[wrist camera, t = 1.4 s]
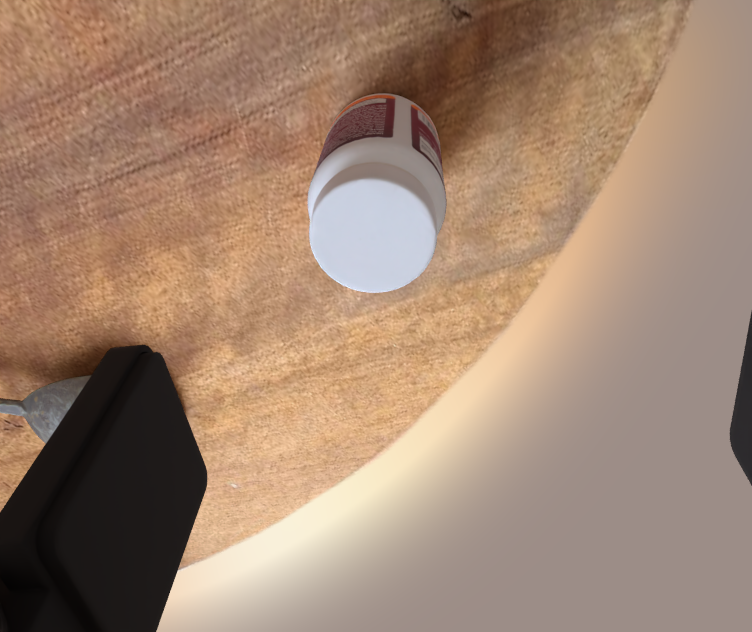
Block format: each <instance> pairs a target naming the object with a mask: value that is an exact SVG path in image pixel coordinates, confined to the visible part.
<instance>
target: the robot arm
mask: <svg viewBox="0 0 752 632" xmlns="http://www.w3.org/2000/svg"><path fill="white" fill-rule="evenodd" d="M730 442H731V446H732V450H733V452H734V454H735V456H736V458H737V460H738V462H739V464H740V465H741V467H742V469H743V471H744V472H745V474H746V476H747V477H748V480H749V481H750V483H751V485H752V312H751V318H750V323H749V329H748V334H747V340H746V346H745V351H744V356H743V362H742V367H741V373H740V378H739V384H738V389H737V395H736V400H735V406H734V411H733V416H732V422H731V427H730ZM206 487H207V470H206V466H205V464H204V461H203V458H202V456H201V453H200V451H199V448H198V446H197V443H196V440H195V438H194V435H193V433H192V430H191V428H190V425H189V422H188V420H187V417H186V415H185V412H184V410H183V407H182V404H181V402H180V399H179V397H178V394H177V391H176V389H175V386H174V384H173V381H172V379H171V376H170V373H169V371H168V368H167V366H166V363H165V361H164V358H163V357H162V355H161V354H160V353H158V352H154V353H153V351H152V350H151V349H150V348H149V346H146V345H137V346H126V347H115V348H111V349H110V350H109V351H108V352H107V353H106V354H105V356H104V357H103V359H102V360H101V362H100V363H99V365H98V366H97V368H96V369H95V371H94V372H93V374H92V375H91V377H90V378H89V380H88V381H87V383H86V384H85V386H84V387H83V389H82V390H81V392H80V393H79V395H78V397H77V398H76V400H75V401H74V403H73V404H72V406H71V407H70V409H69V410H68V412H67V413H66V415H65V416H64V418H63V419H62V421H61V422H60V424H59V425H58V427H57V428H56V430H55V431H54V433H53V434H52V436H51V437H50V439H49V440H48V442H47V443H46V445H45V446H44V448H43V449H42V451H41V452H40V454H39V455H38V457H37V458H36V460H35V461H34V463H33V464H32V466H31V467H30V469H29V470H28V472H27V473H26V475H25V476H24V478H23V479H22V481H21V482H20V484H19V485H18V487H17V488H16V490H15V491H14V493H13V494H12V496H11V497H10V499H9V500H8V502H7V503H6V505H5V506H4V508H3V509H2V511H1V512H0V632H156V630H157V628H158V625H159V622H160V619H161V616H162V613H163V611H164V607H165V605H166V602H167V599H168V596H169V593H170V590H171V588H172V585H173V582H174V579H175V576H176V573H177V570H178V568H179V565H180V562H181V559H182V556H183V553H184V550H185V548H186V545H187V542H188V539H189V536H190V533H191V530H192V528H193V525H194V522H195V519H196V516H197V513H198V510H199V508H200V505H201V502H202V499H203V496H204V493H205V490H206Z"/></svg>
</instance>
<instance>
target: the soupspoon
mask: <svg viewBox="0 0 752 632" xmlns="http://www.w3.org/2000/svg"><path fill="white" fill-rule="evenodd" d="M90 377H91V375H88V376H80V377H75V378H69V379H65V380H61V381H57V382H54V383H51V384H49V385H46V386H44V387H42V388H39V389H37V390H36V391H34V392H32V393H31V394H30V395H28V396H27V397H26V398H25V399H24V400H23V401H20V400H11V399H3V398H0V413H5V414H12V415H18V416H23V417H25V419H26V420H27V422H28V423H29V425H30V426H31V428H32V429H33V431H34V432H35V433H36V434H37V436H38V437H39V438H40V439H41V440H42V441H44V442H45V443H47V442H48V440H49V439H50V437H51V436H52V434H53V433H54V431H55V430H56V428H57V427H58V425H59V424H60V422H61V421H62V419H63V418H64V416H65V415H66V413H67V412H68V410H69V409H70V407H71V406H72V404H73V403H74V401H75V400H76V398H77V397H78V395H79V393H80V392H81V390H82V389H83V387H84V386H85V384H86V383H87V381H88V380H89V378H90Z"/></svg>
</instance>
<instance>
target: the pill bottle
mask: <svg viewBox="0 0 752 632" xmlns="http://www.w3.org/2000/svg"><path fill="white" fill-rule="evenodd" d="M308 212H309V218H310V226H309V238H310V245H311V249H312V252H313V254H314V257H315V259H316V260H317V262H318V263H319V265H320V267H321V268H322V269H323V270H324V271H325V272H326V273H327V274H328V275H329V276H330V277H331V278H332V279H334V280H335V281H337V282H338V283H340V284H341V285H344V286H346V287H348V288H351V289H354V290H357V291H361V292H370V293H380V292H387V291H392V290H395V289H398V288H401V287H403V286H405V285H407V284H409V283H410V282H412V281H413V280H414V279H416V278H417V277H418V276H419V275H420V274H421V273H422V272H423V271H424V270H425V269H426V267H427V266H428V264H429V262H430V261H431V259H432V257H433V254H434V251H435V248H436V243H437V235H438V233H439V231H440V229H441V227H442V224H443V221H444V218H445V213H446V192H445V185H444V178H443V170H442V160H441V149H440V141H439V137H438V133H437V130H436V128H435V126H434V124H433V122H432V120H431V119H430V117H429V116H428V115H427V113H426V112H425V111H424V110H423V109H422V108H420V107H419V106H418V105H417V104H415V103H414V102H412V101H410V100H408V99H406V98H404V97H401V96H399V95H394V94H387V93H379V94H372V95H367V96H364V97H361V98H359V99H357V100H355V101H353V102H352V103H350V104H349V105H347V106H346V107H345V108H344V109H343V110H342V111H341V112H340V113H339V114H338V115H337V117H336V118H335V120H334V121H333V123H332V125H331V127H330V129H329V132H328V135H327V137H326V140H325V143H324V147H323V149H322V152H321V155H320V158H319V161H318V163H317V167H316V170H315V173H314V175H313V178H312V181H311V184H310V188H309V192H308Z"/></svg>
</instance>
